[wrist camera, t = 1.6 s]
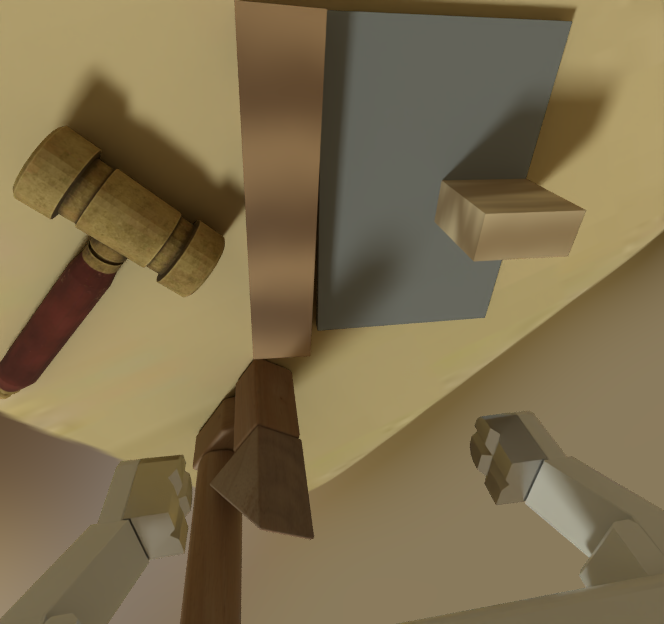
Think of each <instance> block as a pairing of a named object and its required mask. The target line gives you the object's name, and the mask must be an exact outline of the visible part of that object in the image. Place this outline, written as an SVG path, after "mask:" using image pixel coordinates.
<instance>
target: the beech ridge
mask: <svg viewBox="0 0 664 624" xmlns="http://www.w3.org/2000/svg"><path fill="white" fill-rule="evenodd" d="M585 212H586V210H585V209H583V208H581V207H579V206H577V205H575V204H573V203H571V202H569V201H567V200H565V199H564V198H562V197H560V196H558V195H556V194H554V193H552V192H550V191H548V190H546V189H544V188H543V187H541V186H539V185H537V184H535V183H533V182H531V181H529V180H527V179H490V180H442V181H441V187H440V192H439V198H438V203H437V209H436V215H435V220H434V222H435V223H436V224H437V225H438V226H439V227H440V228H441V229H442V230H443V231H444V232H445V233H446V234H447V235H448V236H449V237H450V238H451V239H452V240H453V241H454V242H455V243H456V244H457V245H458V246H459V247H460V248H461V249H462V250H463V251H464V252H465V253H466V254H467V255H468V256H469V257H470V258H471V259H472V260H473V261H490V260H509V259H527V258H545V257H564V256H568V255H569V253H570V250H571V248H572V245H573V243H574V240H575V238H576V235H577V233H578V230H579V228H580V225H581V223H582V220H583V217H584V215H585Z"/></svg>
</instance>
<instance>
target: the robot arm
mask: <svg viewBox="0 0 664 624" xmlns="http://www.w3.org/2000/svg"><path fill="white" fill-rule="evenodd" d="M475 427H476V429H477V432H476V433H475V434H474V435H473V436H472V437H471V441H470V451H471V456H472V459H473V462H474V464H475V466H476V468H477V469H478V470H479V471H480V472H482V473H483V474H484V475H486V478H485V485H486V487H487V489H488V491H489V493H490V495H491V497H492V498H493V500H494V502H495V504H496V505H501V504H508V503H516V502H524V501H526V502H525V504H526V505H528V506H529V507H530V508H531V509H532V510H534V511H535V512H536V513H537V514H538V515H539V516H541V517H542V518H543V519H544V520H545V521H547V522H548V523H549V524H550V525H551V526H553V527H554V528H555V529H556V530H557V531H558V532H560V533H561V534H562V535H563V536H564V537H566V538H567V539H568V540H569V541H570V542H571V543H573V544H574V545H575V546H576V547H577V548H579V549H580V550H581V551H582V552H583V553H584V554H586V555H587V556H588V557H589V559H588V561H587V562H586V563H585V565H584V566H583V568H582V569H581V572H580V575H579V576H580V578H581V579H582V581H583V583H584V585H585V586H586V588H582V589H577V590H572V591H567V592H561V593H556V594H551V595H545V596H541V597H535V598H530V599H525V600H519V601H514V602H509V603H503V604H498V605H493V606H488V607H482V608H477V609H472V610H466V611H461V612H456V613H450V614H445V615H440V616H435V617H429V618H424V619H419V620H414V621H408V622H403V623H398V624H664V510H662V509H661V508H659V507H657V506H656V505H654V504H652V503H651V502H649V501H647V500H645V499H644V498H642V497H640V496H639V495H637V494H635V493H634V492H632V491H630V490H628V489H627V488H625V487H623V486H622V485H620V484H618V483H617V482H615V481H613V480H611V479H610V478H608V477H606V476H605V475H603V474H601V473H600V472H598V471H596V470H595V469H593V468H591V467H589V466H588V465H586V464H584V463H583V462H581V461H579V460H577V459H576V458H574V457H572V456H570V457H567V456H566V455H565V453H564V452H563V451H562V449H561V448H560V447H559V446H558V444H557V443H556V442H555V440H554V439H553V438H552V437H551V435H550V434H549V433H548V431H547V430H546V429H545V428H544V426H543V425H542V423H541V422H540V421H539V419H538V418H537V417H536V416H535V414H534V413H533V412H531V411H522V412H514V413H503V414H496V415H489V416H482V417H479V418H478V419H477V420H476V423H475ZM185 466H186V461H185V459H184V456H183V455H175V456H165V457H155V458H145V459H136V460H127V461H121V462H120V463H119V464H118V466H117V467H116V469H115V473H114V476H113V479H112V482H111V485H110V487H109V491H108V494H107V497H106V500H105V502H104V505H103V508H102V511H101V514H100V517H99V520H98V523H97V524H93V525H90V526H89V527H88V528H87V529H86V531H84V533H83V534H82V535H81V536H80V537H79V538H78V539H77V540H76V541H75V542H74V543H73V544H72V545H71V546H70V547H69V548H68V549H67V550H66V551H65V552H64V554H62V555H61V556H60V557H59V559H57V561H56V562H55V563H54V564H53V565H52V566H51V567H50V568H49V569H48V570H47V571H46V572H45V573H44V574H43V575H42V576H41V577H40V578H39V579H38V580H37V581H36V582H35V583H34V584H33V585H32V587H30V589H29V590H28V591H27V592H26V593H25V594H24V595H23V596H22V597H21V598H20V599H19V600H18V601H17V602H16V603H15V604H14V605H13V606H12V607H11V608H10V609H9V610H8V611H7V612H6V613H5V615H4V616H2V618H1V619H0V624H108V623H109V621H110V620H111V618H112V617H113V615H114V614H115V612H116V611H117V609H118V608H119V606H120V605H121V603H122V602H123V601H124V599H125V598H126V596H127V595H128V593H129V592H130V590H131V589H132V587H133V586H134V584H135V583H136V581H137V580H138V578H139V577H140V575H141V573H142V572H143V571H144V569H145V568H146V566H147V565H148V563H149V561H148V560H152V559H158V558H163V557H169V556H174V555H180V554H184V553H185V546H186V540H187V532H188V525H187V522H186V519H185V517H186V515H187V514H188V513H189V512H190V511H191V504H192V482H191V477H190V474H189V473H188V472H186V471H185Z"/></svg>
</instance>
